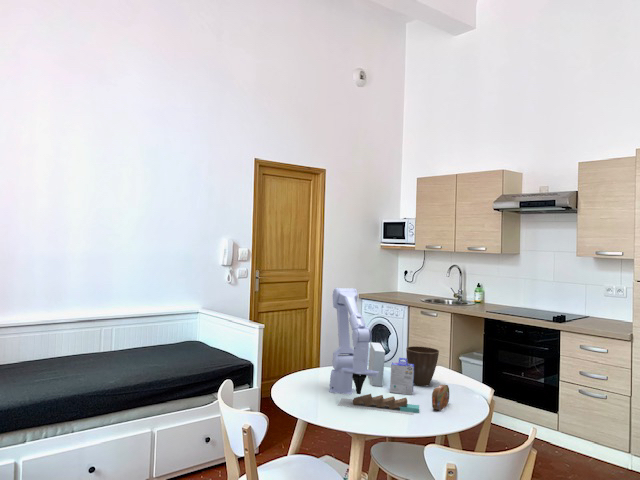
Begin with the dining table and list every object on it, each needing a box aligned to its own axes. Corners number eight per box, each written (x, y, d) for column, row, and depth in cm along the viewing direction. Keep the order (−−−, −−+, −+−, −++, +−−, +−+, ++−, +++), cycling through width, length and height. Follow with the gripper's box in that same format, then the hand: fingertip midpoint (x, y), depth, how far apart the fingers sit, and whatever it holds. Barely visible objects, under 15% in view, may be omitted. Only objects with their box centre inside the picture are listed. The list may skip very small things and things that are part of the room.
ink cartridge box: (413, 391, 215) (414, 358, 215) (412, 395, 210) (414, 361, 210) (390, 389, 217) (392, 356, 217) (389, 392, 212) (391, 359, 212)
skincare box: (383, 387, 220) (385, 351, 221) (371, 386, 220) (373, 350, 221) (378, 374, 241) (380, 342, 242) (367, 374, 242) (369, 341, 242)
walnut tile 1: (352, 401, 192) (369, 396, 190) (354, 397, 196) (370, 393, 195) (353, 405, 192) (370, 400, 190) (355, 401, 196) (372, 397, 195)
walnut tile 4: (388, 405, 189) (405, 400, 187) (389, 401, 193) (406, 397, 192) (389, 409, 189) (406, 404, 187) (390, 405, 193) (407, 401, 192)
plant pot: (399, 379, 234) (401, 346, 234) (428, 379, 237) (430, 346, 237) (412, 389, 219) (414, 353, 219) (443, 388, 223) (444, 353, 223)
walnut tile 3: (375, 403, 190) (393, 399, 188) (376, 400, 194) (394, 396, 193) (377, 408, 190) (394, 403, 188) (378, 404, 194) (395, 400, 193)
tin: (437, 413, 188) (438, 391, 188) (429, 411, 190) (430, 389, 190) (449, 403, 201) (450, 383, 201) (442, 402, 203) (443, 381, 203)
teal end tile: (400, 406, 188) (418, 408, 186) (401, 403, 192) (419, 405, 190) (400, 410, 188) (418, 413, 186) (400, 407, 192) (419, 409, 190)
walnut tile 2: (364, 402, 191) (381, 398, 189) (365, 399, 195) (382, 394, 194) (365, 406, 191) (382, 402, 189) (366, 403, 195) (383, 398, 194)
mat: (337, 406, 190) (337, 405, 190) (341, 398, 200) (341, 397, 200) (413, 415, 184) (413, 414, 184) (414, 407, 194) (414, 406, 194)
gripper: (340, 359, 191) (338, 394, 191) (377, 362, 188) (376, 398, 188) (343, 355, 198) (341, 389, 198) (379, 359, 195) (378, 393, 195)
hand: (358, 393), depth 193 cm, fingers closed
